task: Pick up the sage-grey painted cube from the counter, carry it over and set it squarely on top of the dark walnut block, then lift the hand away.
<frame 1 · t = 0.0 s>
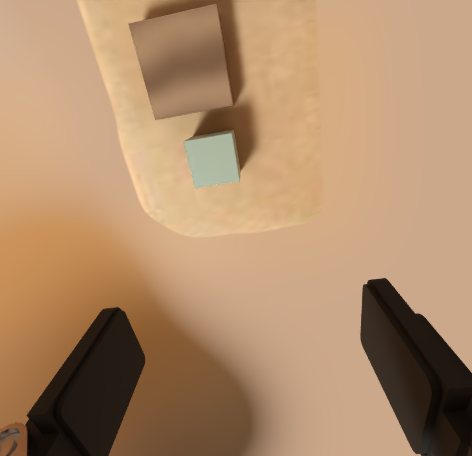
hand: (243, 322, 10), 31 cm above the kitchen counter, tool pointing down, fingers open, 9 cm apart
sage cube: (217, 154, 38), on the kitchen counter
walnut block: (189, 70, 34), on the kitchen counter
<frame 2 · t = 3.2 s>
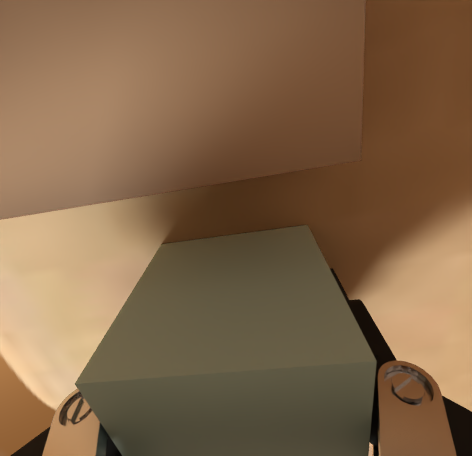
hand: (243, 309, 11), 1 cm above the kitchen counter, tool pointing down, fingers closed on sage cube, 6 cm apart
sage cube: (243, 293, 12), on the kitchen counter, touching gripper
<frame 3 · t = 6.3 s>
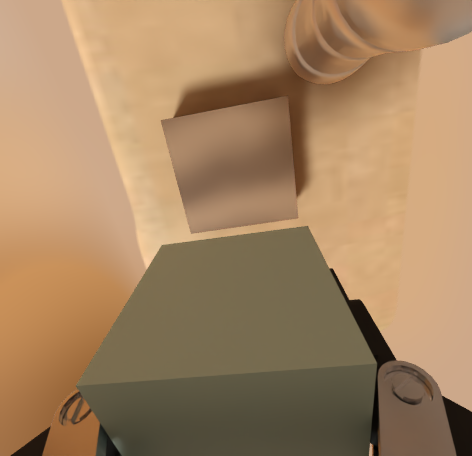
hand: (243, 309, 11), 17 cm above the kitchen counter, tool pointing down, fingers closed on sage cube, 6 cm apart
sage cube: (243, 294, 12), point 16 cm above the kitchen counter, touching gripper
walnut block: (235, 164, 25), on the kitchen counter
plastic bottle: (320, 42, 21), on the kitchen counter
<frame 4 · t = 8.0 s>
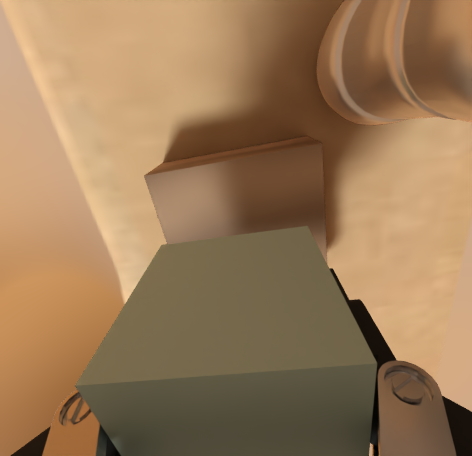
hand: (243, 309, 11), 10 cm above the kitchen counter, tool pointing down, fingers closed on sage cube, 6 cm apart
sage cube: (243, 294, 12), point 9 cm above the kitchen counter, touching gripper
walnut block: (245, 215, 20), on the kitchen counter
plastic bottle: (363, 62, 15), on the kitchen counter
when the fingers open (5 cm above the kitchen counter, at t = 9.5 s): sage cube stays where it is, resting on walnut block.
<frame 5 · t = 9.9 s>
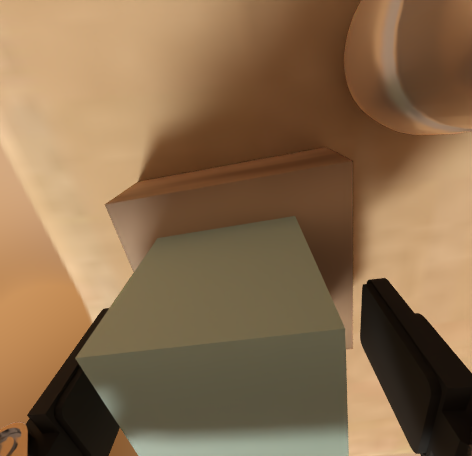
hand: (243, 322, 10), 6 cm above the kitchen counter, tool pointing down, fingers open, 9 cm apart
sage cube: (237, 283, 12), point 4 cm above the kitchen counter, touching walnut block
walnut block: (244, 244, 16), on the kitchen counter, touching sage cube
plastic bottle: (405, 49, 11), on the kitchen counter
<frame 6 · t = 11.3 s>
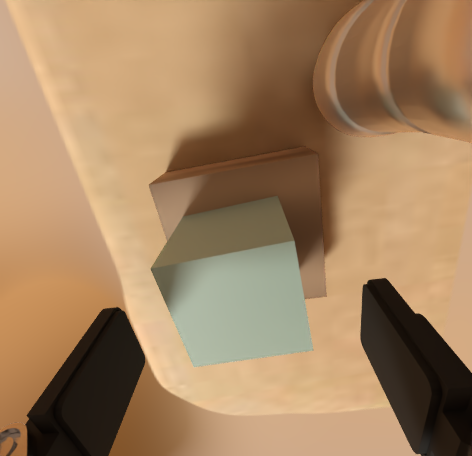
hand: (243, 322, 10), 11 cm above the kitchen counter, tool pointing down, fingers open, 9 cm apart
sage cube: (240, 248, 17), point 4 cm above the kitchen counter, touching walnut block
walnut block: (245, 221, 21), on the kitchen counter, touching sage cube
plastic bottle: (357, 78, 16), on the kitchen counter
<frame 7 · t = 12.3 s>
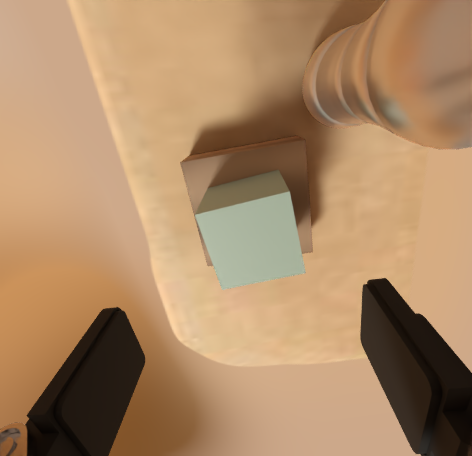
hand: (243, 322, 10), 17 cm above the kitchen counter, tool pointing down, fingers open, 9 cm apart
sage cube: (251, 212, 22), point 4 cm above the kitchen counter
walnut block: (250, 196, 26), on the kitchen counter
plastic bottle: (336, 84, 21), on the kitchen counter
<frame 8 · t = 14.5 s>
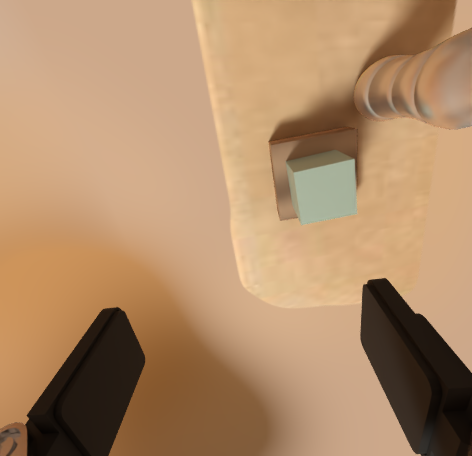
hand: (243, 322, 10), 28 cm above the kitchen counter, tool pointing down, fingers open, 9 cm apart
sage cube: (313, 179, 32), point 4 cm above the kitchen counter, touching walnut block
walnut block: (308, 171, 36), on the kitchen counter, touching sage cube
plastic bottle: (375, 91, 31), on the kitchen counter
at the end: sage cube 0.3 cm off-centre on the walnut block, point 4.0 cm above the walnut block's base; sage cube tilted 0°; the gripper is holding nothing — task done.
